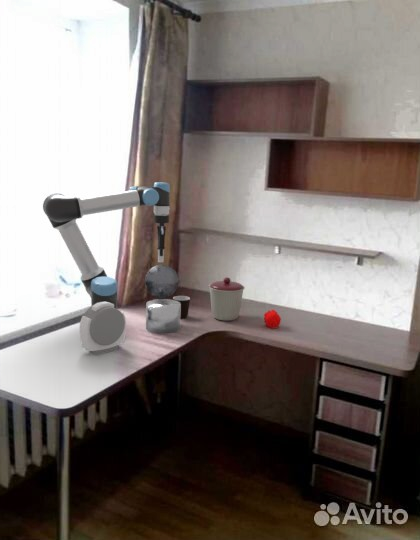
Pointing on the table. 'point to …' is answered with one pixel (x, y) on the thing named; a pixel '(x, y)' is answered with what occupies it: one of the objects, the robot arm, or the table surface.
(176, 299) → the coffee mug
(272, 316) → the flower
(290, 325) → the table surface
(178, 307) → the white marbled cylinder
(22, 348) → the table surface
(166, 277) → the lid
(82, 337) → the alarm clock
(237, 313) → the canister
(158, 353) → the table surface
